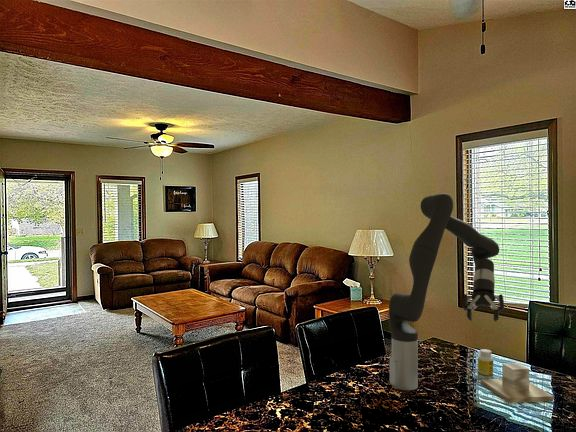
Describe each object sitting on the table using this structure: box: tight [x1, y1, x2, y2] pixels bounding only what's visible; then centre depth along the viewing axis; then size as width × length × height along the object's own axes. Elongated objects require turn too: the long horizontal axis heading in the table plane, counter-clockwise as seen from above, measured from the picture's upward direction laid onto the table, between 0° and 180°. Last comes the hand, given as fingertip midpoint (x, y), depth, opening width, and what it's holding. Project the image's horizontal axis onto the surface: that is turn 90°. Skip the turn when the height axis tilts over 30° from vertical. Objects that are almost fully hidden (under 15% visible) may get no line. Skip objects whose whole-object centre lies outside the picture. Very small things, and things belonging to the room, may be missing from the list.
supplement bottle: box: [477, 348, 494, 379], centre depth 162 cm, size 5×5×10 cm
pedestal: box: [480, 362, 554, 404], centre depth 147 cm, size 16×16×9 cm
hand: (482, 319), depth 154 cm, fingers open, 8 cm apart
